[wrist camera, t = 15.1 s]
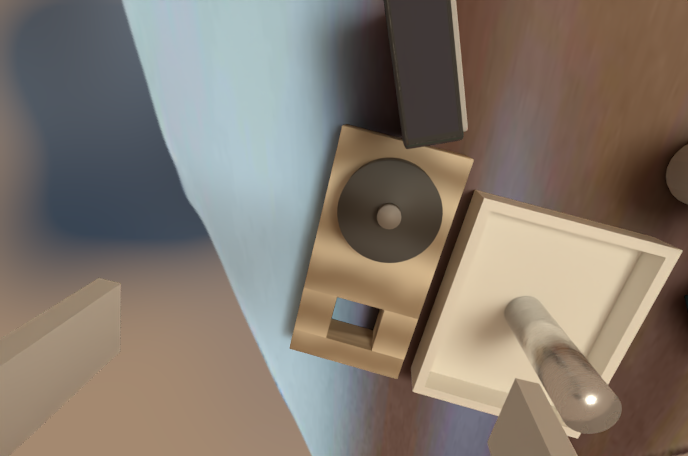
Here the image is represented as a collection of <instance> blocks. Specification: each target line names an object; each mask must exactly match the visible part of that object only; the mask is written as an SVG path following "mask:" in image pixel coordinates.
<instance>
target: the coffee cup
mask: <svg viewBox="0 0 688 456" xmlns="http://www.w3.org/2000/svg"><path fill="white" fill-rule="evenodd" d="M666 182H667V185H668V187H669V189H670V191H671V193H672V195H673V196H674V197H675V198H676V199H677V200H679V201H681V202H683V203H685V204H687V205H688V144H687V145H686V146H684V147H682V148H681V149H680V150H679V151H678V152H677V153H676V154H675V155H674V156H673V158H672V159H671V160H670V163H669V165H668V167H667V171H666Z"/></svg>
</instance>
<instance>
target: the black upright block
mask: <svg viewBox="0 0 688 456" xmlns="http://www.w3.org/2000/svg"><path fill="white" fill-rule="evenodd" d="M384 7H385V15H386V22H387V29H388V37H389V44H390V51H391V58H392V66H393V73H394V80H395V87H396V95H397V102H398V109H399V117H400V124H401V131H402V138H403V144H404V146H405V148H406V149H412V148H419V147H424V146H430V145H436V144H442V143H447V142H453V141H459V140H462V139H463V132H464V131H467V129H468V126H467V114H466V103H465V92H464V81H463V71H462V60H461V49H460V38H459V28H458V17H457V6H456V0H384Z"/></svg>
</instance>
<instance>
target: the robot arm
mask: <svg viewBox="0 0 688 456" xmlns="http://www.w3.org/2000/svg"><path fill="white" fill-rule="evenodd" d="M120 319H121V283H118V282H114V281H109V280H105V279H101V278H98V279H96V280H95V281H93V282H92V283H90V284H88V285H87V286H85V287H83V288H82V289H80V290H79V291H77V292H75V293H74V294H72V295H70V296H69V297H67V298H66V299H64V300H62V301H61V302H59V303H57V304H56V305H54V306H53V307H51V308H49V309H48V310H46V311H45V312H43V313H41V314H40V315H38V316H36V317H35V318H33V319H32V320H30V321H28V322H27V323H25V324H23V325H22V326H20V327H19V328H17V329H15V330H14V331H12V332H11V333H9V334H7V335H6V336H4V337H2V338H1V339H0V456H10V455H11V454H12V453H13V452H14V451H15V450H16V449H17V448H18V447H19V446H21V445H22V444H23V443H24V442H25V441H26V440H27V439H28V438H29V437H30V436H31V435H32V434H33V433H34V432H35V431H37V430H38V429H39V428H40V427H41V426H42V425H43V424H44V423H45V422H46V421H47V420H48V419H49V418H50V417H51V416H52V415H53V414H55V413H56V412H57V411H58V410H59V409H60V408H61V407H62V406H63V405H64V404H65V403H66V402H67V401H68V400H69V399H70V398H72V397H73V396H74V395H75V394H76V393H77V392H78V391H79V390H80V389H81V388H82V387H83V386H84V385H85V384H86V383H87V382H89V381H90V379H92V378H93V377H94V376H95V375H96V374H97V373H98V372H99V371H100V370H101V369H102V368H103V367H104V366H105V365H107V364H108V363H109V362H110V361H111V360H112V359H113V358H114V357H115V356H116V355H117V354H118V353H119V352H120V328H121V327H120V326H121V324H120V323H121V320H120ZM487 443H488V446H489V450H490V453H491V456H578V455H577V453H576V452H575V450H574V448H573V446H572V444H571V442H570V440H569V438H568V437H567V435H566V433H565V431H564V429H563V427H562V425H561V424H560V422H559V420H558V418H557V416H556V414H555V412H554V410H553V409H552V407H551V405H550V403H549V401H548V399H547V397H546V395H545V394H544V392H543V390H542V388H541V386H540V384H538V383H534V382H530V381H526V380H522V379H517V378H515V380H514V382H513V384H512V387H511V389H510V391H509V394H508V396H507V398H506V400H505V403H504V405H503V407H502V410H501V412H500V414H499V417H498V419H497V421H496V423H495V426H494V428H493V430H492V433H491V435H490V437H489V439H488V442H487Z"/></svg>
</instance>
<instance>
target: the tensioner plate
mask: <svg viewBox="0 0 688 456" xmlns="http://www.w3.org/2000/svg"><path fill="white" fill-rule="evenodd" d="M473 161H474V160H473V159H472V158H470V157H468V156H466V155H463V154H459V153H456V152H452V151H448V150H444V149H440V148H436V147H433V146H424V147H419V148H412V149H406V148H405V146H404V144H403V139H402V138H398V137H394V136H391V135H387V134H383V133H379V132H375V131H371V130H368V129H364V128H360V127H356V126H352V125H348V124H346V125H342V129H341V133H340V137H339V142H338V146H337V150H336V154H335V159H334V163H333V167H332V171H331V175H330V180H329V184H328V188H327V192H326V197H325V201H324V205H323V209H322V213H321V218H320V222H319V226H318V230H317V234H316V239H315V243H314V247H313V251H312V256H311V260H310V264H309V268H308V272H307V277H306V281H305V285H304V289H303V293H302V298H301V302H300V306H299V310H298V315H297V319H296V323H295V327H294V331H293V336H292V340H291V344H290V349H293V350H297V351H300V352H304V353H307V354H311V355H314V356H318V357H321V358H325V359H328V360H332V361H335V362H339V363H342V364H346V365H349V366H353V367H357V368H360V369H364V370H367V371H371V372H374V373H378V374H381V375H385V376H388V377H392V378H395V379H397V378H398V375H399V373H400V370H401V367H402V364H403V361H404V358H405V355H406V353H407V350H408V347H409V344H410V341H411V338H412V335H413V333H414V330H415V327H416V324H417V321H418V318H419V315H420V313H421V310H422V307H423V304H424V301H425V298H426V295H427V293H428V290H429V287H430V284H431V281H432V278H433V275H434V273H435V270H436V267H437V264H438V261H439V258H440V255H441V253H442V250H443V247H444V244H445V241H446V238H447V235H448V232H449V230H450V227H451V224H452V221H453V218H454V215H455V212H456V210H457V207H458V204H459V201H460V198H461V195H462V192H463V190H464V187H465V184H466V181H467V178H468V175H469V172H470V170H471V167H472V164H473ZM337 297H340V298H343V299H347V300H350V301H354V302H358V303H361V304H365V305H368V306H372V307H376V308H379V309H380V310H379V313H378V316H377V320H376V323H375V326H374V329H373V330H370V329H366V328H363V327H359V326H356V325H352V324H349V323H345V322H341V321H338V320H334V319H331V318H332V314H333V310H334V307H335V303H336V299H337Z"/></svg>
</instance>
